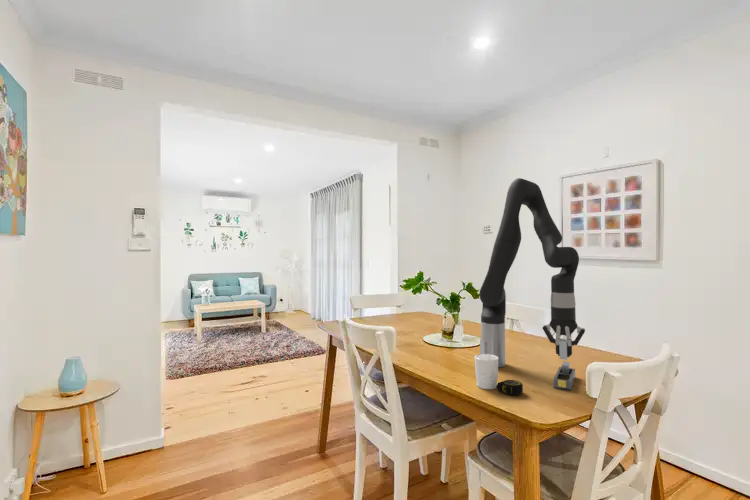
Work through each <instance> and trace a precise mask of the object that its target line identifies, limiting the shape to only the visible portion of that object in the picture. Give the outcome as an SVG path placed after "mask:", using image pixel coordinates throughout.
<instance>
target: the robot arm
mask: <svg viewBox="0 0 750 500" xmlns="http://www.w3.org/2000/svg"><path fill="white" fill-rule="evenodd" d="M505 197H506V198H505V204H504V210H503V213H502V216H501V217H502V218H501V221H500V226H499V228H498V232H497V235H496V238H495V241H494V244H493V248H492V253H491V256H490V260H489V265H488V270H487V273H486V275H485V278H484V280H483V283H482V285H481V287H480V289H479V293H478V294H479V300H480V301H481V303H482V311H481V314H480V323H481V324H480V331H481V332H480V333H481V339H479V354H491V355H495V356H497V357H498V368H503V367H506V321H505V320H506V313H507V312H506V310H507V309H506V308H507V307H506V306H507V305H506V303H507V300H506V298H507V295H506V291H505V283H506V280H507V279H506V278H507V276H508V273H509V271H510V269H511V267H512V265H513V264H514V261H515V259H516V257H517V253H518V251H519V248H520V246H521V245H520V244H521V241H522V231H521V226H520V212H521V207H522V206H523V205H524V206H526V207H527V208H528V209H529V211H530V212H531V214H532V218H533V229H534V231H535V234H536V236H537V237H538V240H539V241H540V243H541V246H542V251H543V257H544V261H545V263H546V264H547V265H548V266H549V267H550V268H554V269H555V268H556V269H560V268H561V269H560V272H559V273H556V274H554V275H552V276H551V281H550V283H551V284H550V287H551V290H550V291H551V293H550V322H549V324H546V325H543V326H542V331H543V332H544V334H545V336H546V337H547V340H548V341H549V342H550V343H552V344H554V345H555V354H556V355H557V356H558V357H560V351H559V341H560V339H561V338H562V336H565V339H567V344H568V345H567V357H568V358H570V357H571V356H572V355H573V346H577V345H578V344H579V342H580V340H581V339H582V337H583V336H584V334H585V332H586V329H585V328H584V327H580V326H579V325H578V323H577V321H576V320H577V318H576V317H577V316H576V305H577V304H576V296H575V277H576V275H577V271H578V267H579V262H580V256H579V253H578V250H577V249H575V248H574V247H572V246H558V245H560V244H561V243H562V241H563V236H562V234H561V232H560V230H559V228H558V226H556V223H555V222H554V220H553V218H552V216H551V213H550V211H549V209H548V207H547V203H546V201H545V198H544V195H543V192H542V190H541V188H540V186H539V185H538V184H537V183H535V182H533V181H530V180H527V179H525V178H520V177H518V178H516V179H514V180H512V182H511V183H510V185H509V187H508V189H507V193H506V196H505ZM551 329H552V330H553V331H554V333H555V338H554V336H553V334H552V332H551ZM575 331H576V333H577V335H576V337H575V339H574V340H572V339H573V338H572V334H573V333H574V332H575Z"/></svg>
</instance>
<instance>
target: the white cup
mask: <svg viewBox="0 0 750 500" xmlns="http://www.w3.org/2000/svg"><path fill="white" fill-rule="evenodd" d="M474 369H475V370H474V371H475V378H476V387H478V388H479V389H482V390H495V389H497V388H496V387H497V386H496V385H497V384H498V378H499V376H498V375H499V367H498V357H497V356H495V355H491V354H480V353H479V354H475V355H474Z"/></svg>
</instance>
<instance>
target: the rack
mask: <svg viewBox="0 0 750 500" xmlns="http://www.w3.org/2000/svg"><path fill="white" fill-rule="evenodd" d="M561 363H562V364H561V366H559V367H558V369H557V371H556V373H555V375H554V378H553V389H557V390H564V391H570V392H572V390H573V385H574V383H575V380H576V368H572V367H571V362H570V361H565V360H564V361H562V362H561Z"/></svg>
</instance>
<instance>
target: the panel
mask: <svg viewBox="0 0 750 500" xmlns="http://www.w3.org/2000/svg"><path fill="white" fill-rule="evenodd" d="M567 345H568V344H567V338H566V337H565V338H564V337H561V339H560V341H559V351H560V356H559V359H560V360H564V361H565V360H568V358H569V357H567Z"/></svg>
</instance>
